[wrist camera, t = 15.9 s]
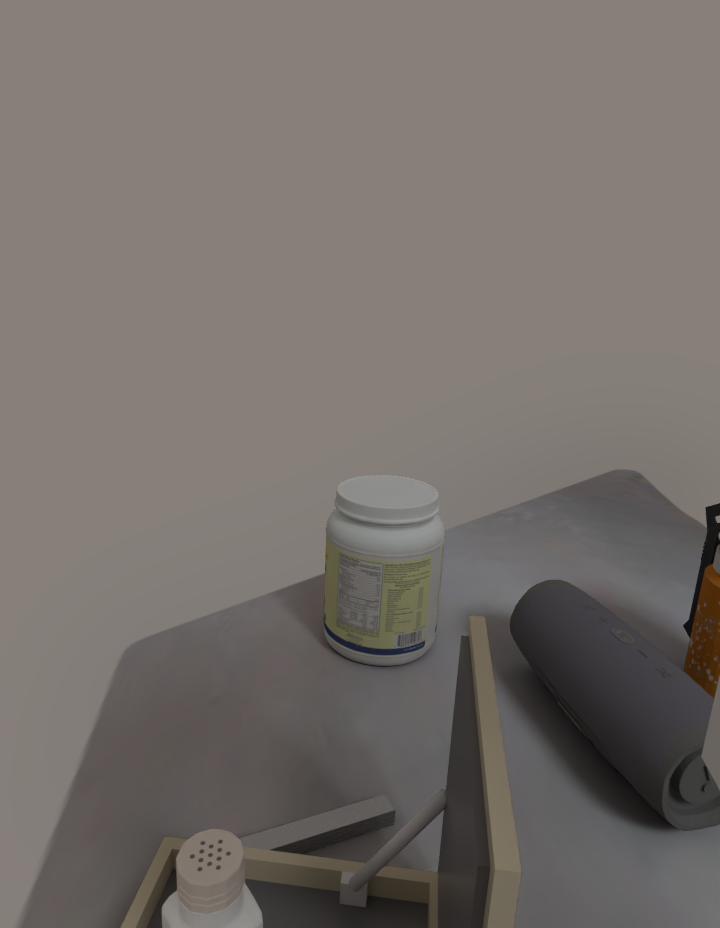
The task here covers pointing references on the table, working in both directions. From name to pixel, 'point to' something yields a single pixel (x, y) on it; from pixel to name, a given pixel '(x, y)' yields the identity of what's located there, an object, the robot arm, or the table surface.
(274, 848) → the bar
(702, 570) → the canister
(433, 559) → the supplement tub
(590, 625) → the bluetooth speaker
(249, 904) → the pepper shaker
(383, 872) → the case
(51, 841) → the table surface
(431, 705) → the table surface
